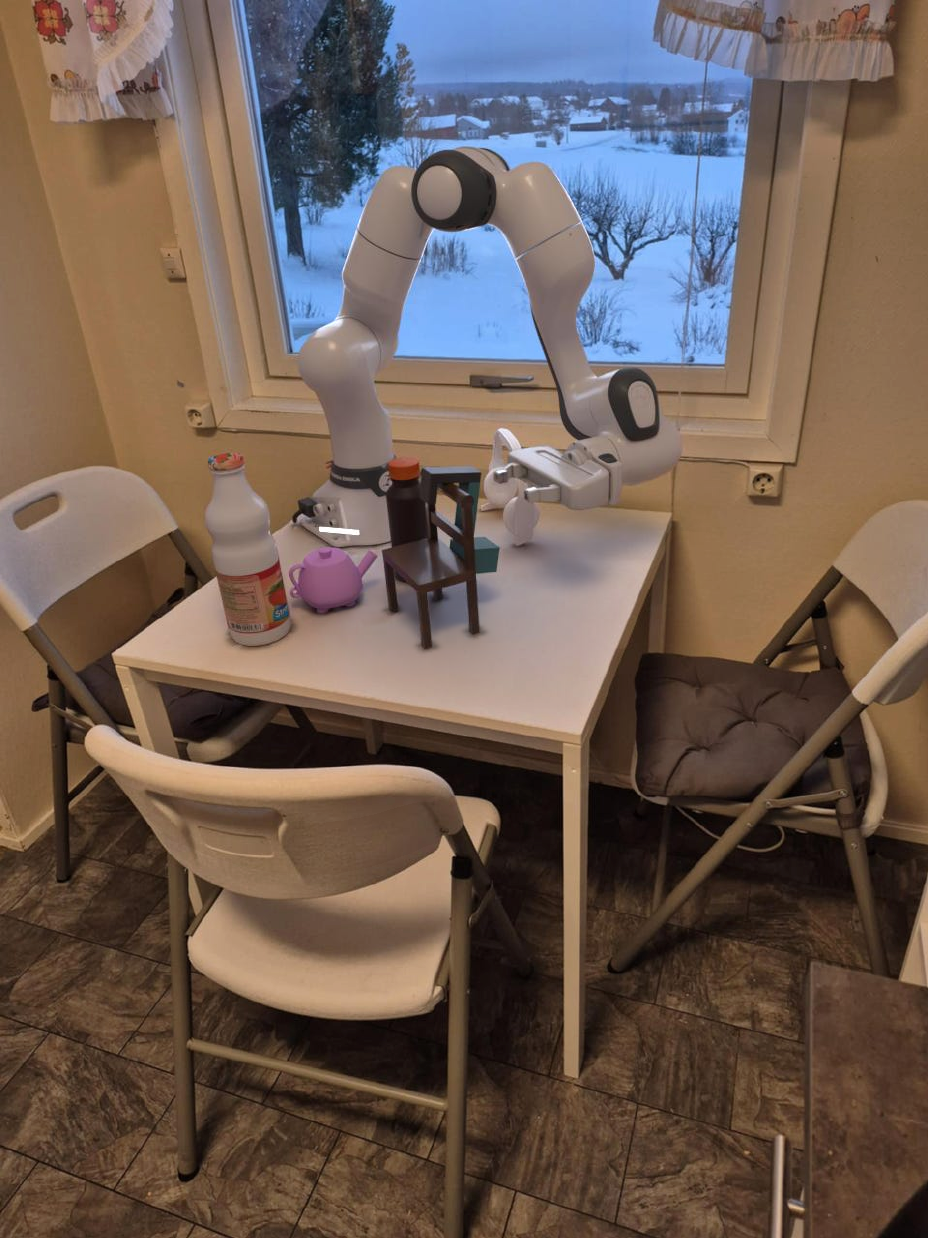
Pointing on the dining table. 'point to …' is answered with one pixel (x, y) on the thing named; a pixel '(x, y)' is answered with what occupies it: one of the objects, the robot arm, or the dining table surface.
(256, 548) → the fruit juice
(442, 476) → the block
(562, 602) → the dining table surface
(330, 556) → the teapot
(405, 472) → the bottle
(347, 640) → the dining table surface
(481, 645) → the dining table surface
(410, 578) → the chair
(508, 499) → the headset
